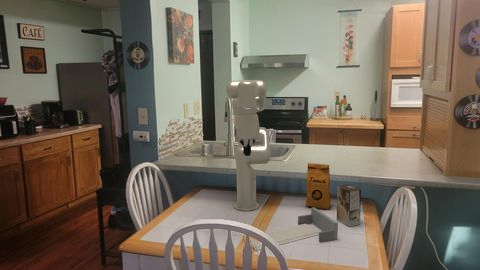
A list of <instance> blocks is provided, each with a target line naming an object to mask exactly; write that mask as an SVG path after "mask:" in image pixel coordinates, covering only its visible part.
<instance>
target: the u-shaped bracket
mask: <svg viewBox="0 0 480 270" xmlns="http://www.w3.org/2000/svg"><path fill="white" fill-rule="evenodd" d="M310 211H311V212H310V213H309V214H303V215H297V225H302V224H307V225H310V224H311V225H313V226H315V227H316V228H318V230H321V231H319V235H318V242H319V243H324V242H325V243H326V242H331V241H336V240H338V236H339V235H338V232H339V222H338V221H337V220H334V218H331V217H329V216H328V215H327V214H325V213H324V212H322V211H320V210H319V208H316V207H311V208H310Z"/></svg>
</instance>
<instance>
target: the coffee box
mask: <svg viewBox="0 0 480 270" xmlns="http://www.w3.org/2000/svg"><path fill="white" fill-rule="evenodd" d="M336 190H337V193H336V221H337V222H339V223H342V224H343V225H345V226H347V227H348V228H351V227H355V226H360V224H361V208H362V207H361V206H362V205H361V204H362V189H361V188H358V187H356V186H353V185H350V184H340V185H337V189H336Z"/></svg>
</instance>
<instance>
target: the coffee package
mask: <svg viewBox="0 0 480 270" xmlns="http://www.w3.org/2000/svg"><path fill="white" fill-rule="evenodd" d="M306 167H307V168H306V169H307V170H306V171H307V172H306V176H307V177H306V199H305V206H306V207H309V208H310V207H311V208H313V207H315V208H316V209H322V210H329V208H330V207H331V206H332V203H331V201H332V194H331V178H330V175H331V174H330V164H323V163H322V164H321V163H311V162H310V163H309V162H307V166H306Z"/></svg>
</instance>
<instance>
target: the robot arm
mask: <svg viewBox="0 0 480 270" xmlns="http://www.w3.org/2000/svg"><path fill="white" fill-rule="evenodd" d="M225 92H226V96H227V97H228V98H229V99H232V101H231V108H232V113H233V116H234V118H235V119H234V128H233V138H234V142H235V143H239V145H237V146H236V147H235V148H234V159H235V166H236V167H235V168H236V202H235V203H234V204H233V207H234V209H236V210H237V211H242V212H248V211H249V212H250V211H255V210H257V209H259V207H260V204H259V202H258V201H257V177H256V176H257V172H256V170H255V169H254V167H253V166H252V165H265V164H268V163H269V162H270V160H271V147H270V146H271V145H270V134H269V130H268V129H267V128H266V127H263V126H260V121H259V116H258V114H257V113H259V112H262V111H264V110H265V108H266V101H267V100H266V98H267V86H266V83H265V81H263V80H262V79H249V80H248V79H242V80H241V79H239V80H229V81H228V82H227V84H226V91H225Z"/></svg>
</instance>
